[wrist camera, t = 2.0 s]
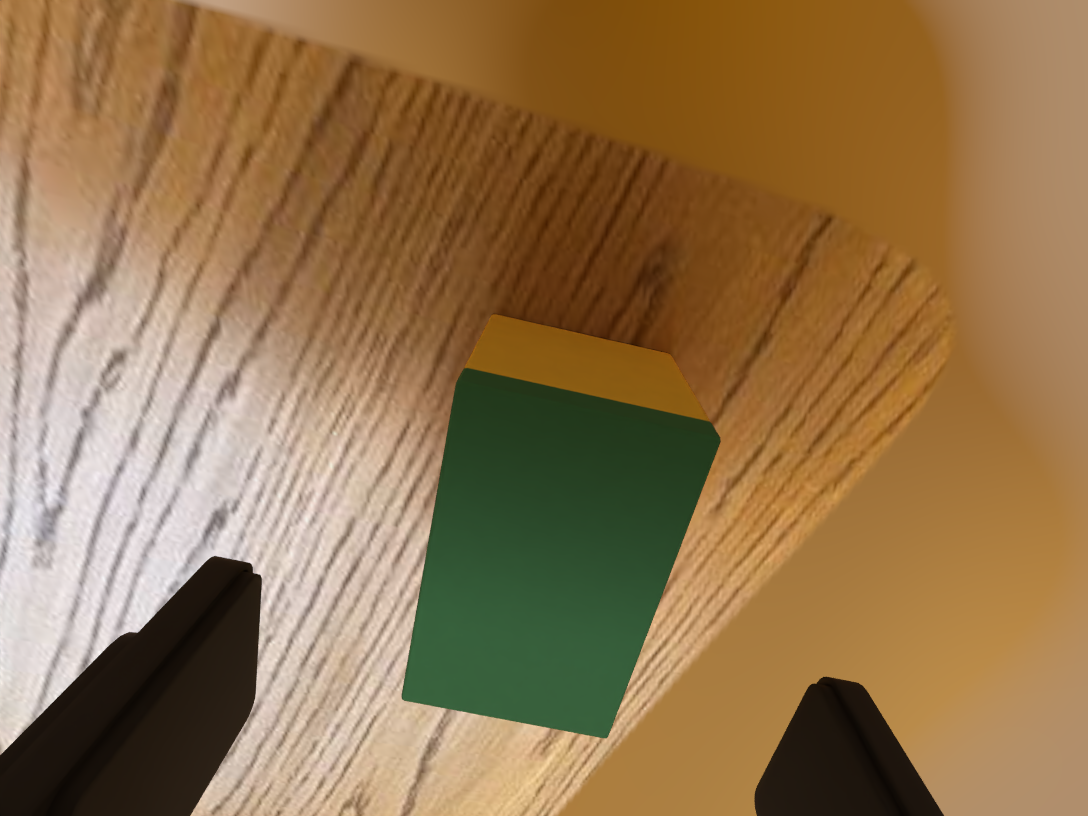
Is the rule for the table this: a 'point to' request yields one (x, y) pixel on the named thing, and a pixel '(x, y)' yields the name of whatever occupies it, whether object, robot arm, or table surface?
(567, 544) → the sponge
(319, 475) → the table surface
